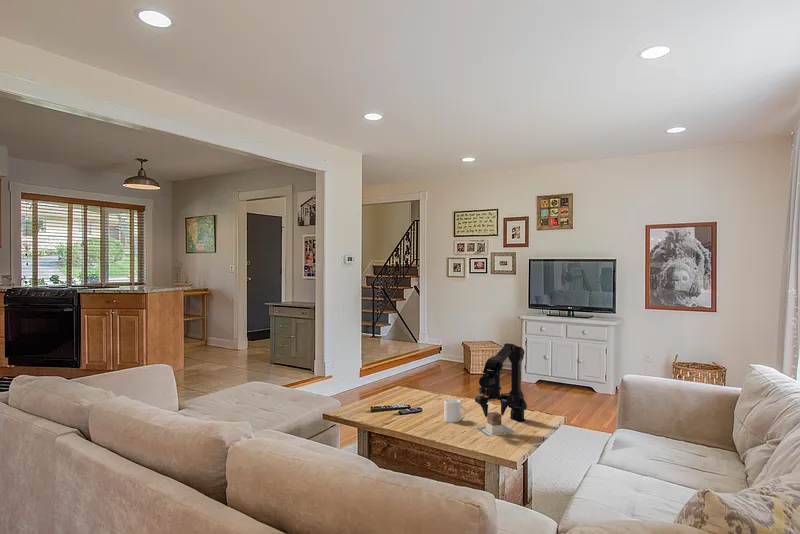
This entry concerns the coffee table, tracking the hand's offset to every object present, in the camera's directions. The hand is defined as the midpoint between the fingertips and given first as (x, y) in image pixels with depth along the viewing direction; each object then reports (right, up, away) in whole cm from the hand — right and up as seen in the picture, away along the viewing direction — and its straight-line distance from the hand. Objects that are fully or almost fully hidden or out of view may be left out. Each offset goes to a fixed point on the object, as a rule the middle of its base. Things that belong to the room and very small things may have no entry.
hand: (494, 415), depth 235 cm
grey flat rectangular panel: (+1, -9, +3) cm, 9 cm away
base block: (0, -8, 0) cm, 8 cm away
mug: (-17, -9, +18) cm, 27 cm away
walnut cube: (0, -4, 0) cm, 4 cm away
